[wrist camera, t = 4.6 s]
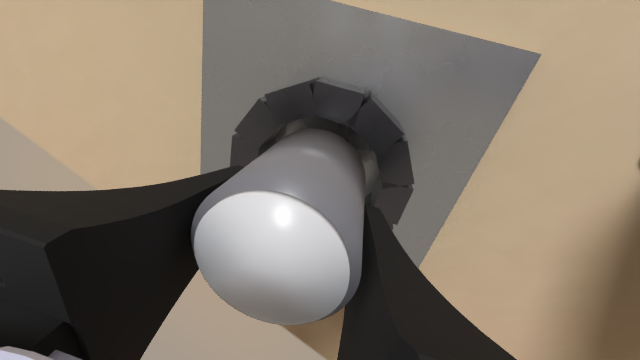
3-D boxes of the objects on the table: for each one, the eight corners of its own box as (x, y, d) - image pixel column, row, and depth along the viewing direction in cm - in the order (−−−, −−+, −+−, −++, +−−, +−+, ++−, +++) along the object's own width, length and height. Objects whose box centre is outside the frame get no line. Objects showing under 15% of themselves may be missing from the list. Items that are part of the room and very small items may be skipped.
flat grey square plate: (534, 54, 12) (580, 53, 9) (402, 286, 19) (407, 323, 16) (211, -28, 13) (168, -50, 10) (204, 222, 20) (178, 247, 18)
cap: (382, 149, 12) (393, 227, 6) (345, 235, 14) (327, 353, 8) (278, 113, 12) (191, 154, 6) (258, 202, 14) (179, 295, 8)
